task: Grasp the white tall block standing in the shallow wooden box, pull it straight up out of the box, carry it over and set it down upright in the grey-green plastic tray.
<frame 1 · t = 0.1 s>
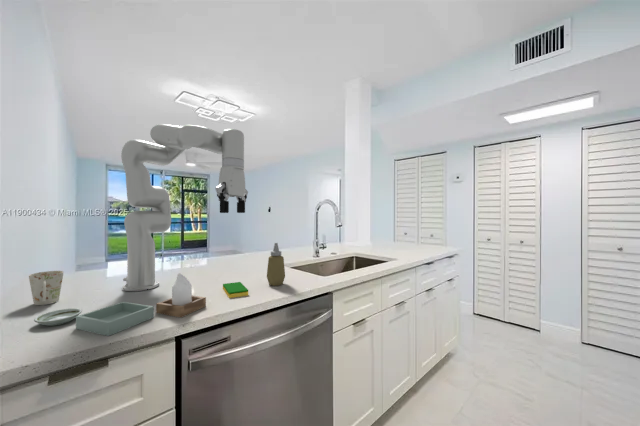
hand: (233, 212, 96), 31 cm above the worktop, tool pointing down, fingers open, 9 cm apart
tray: (116, 322, 76), on the worktop
white tall block: (181, 310, 86), resting in shallow wooden box
dish sponge: (235, 293, 105), on the worktop
shallow wooden box: (181, 309, 86), on the worktop
mug: (46, 304, 91), on the worktop
saucer: (58, 323, 76), on the worktop
squeeze bottle: (275, 284, 116), on the worktop
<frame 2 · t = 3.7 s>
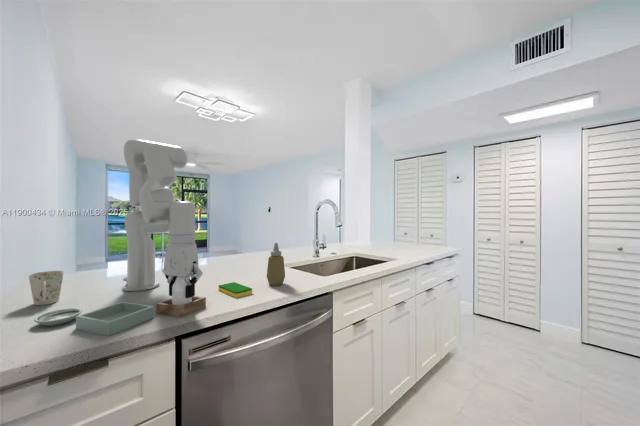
hand: (181, 295, 86), 5 cm above the worktop, tool pointing down, fingers closed on white tall block, 6 cm apart
white tall block: (181, 310, 86), resting in shallow wooden box, touching gripper
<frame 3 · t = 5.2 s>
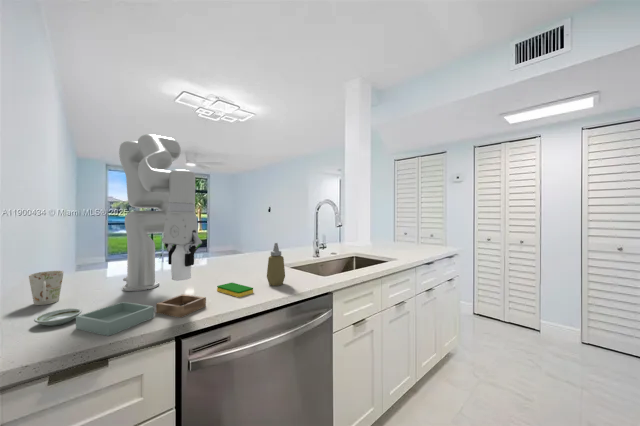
hand: (181, 264, 86), 15 cm above the worktop, tool pointing down, fingers closed on white tall block, 6 cm apart
white tall block: (181, 279, 86), point 10 cm above the worktop, touching gripper
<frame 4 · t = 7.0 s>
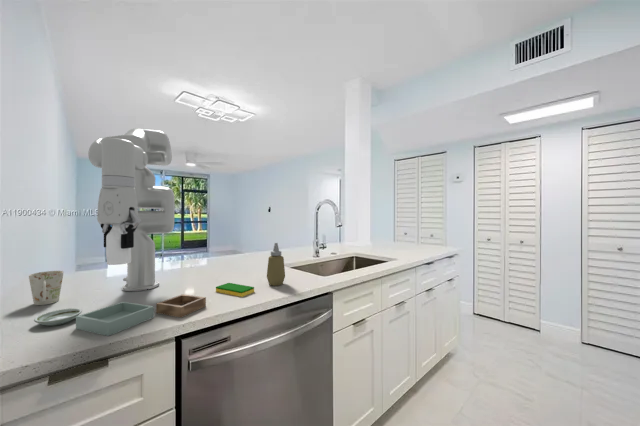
hand: (118, 246, 76), 21 cm above the worktop, tool pointing down, fingers closed on white tall block, 6 cm apart
white tall block: (118, 263, 76), point 17 cm above the worktop, touching gripper
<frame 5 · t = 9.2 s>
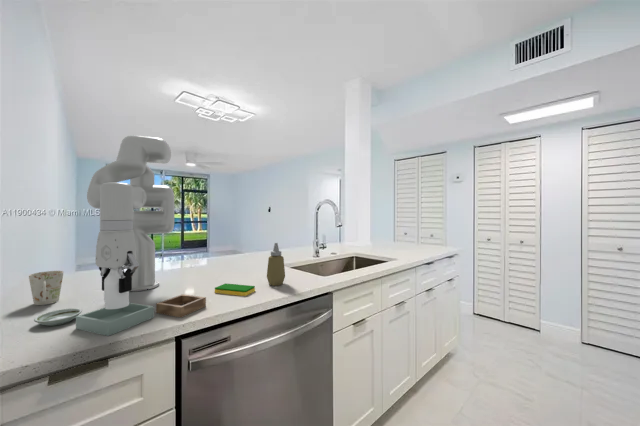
hand: (116, 289, 75), 9 cm above the worktop, tool pointing down, fingers closed on white tall block, 6 cm apart
white tall block: (116, 307, 75), point 4 cm above the worktop, touching gripper
when the fingers open (6 cm above the worktop, at t = 10.7 s): white tall block stays where it is, resting on tray.
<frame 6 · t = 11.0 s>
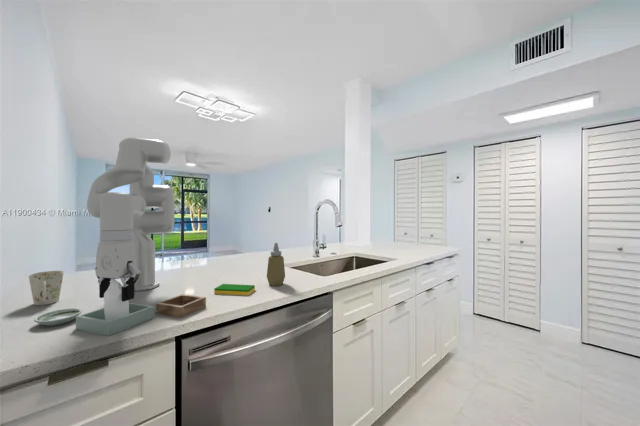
hand: (116, 297, 76), 7 cm above the worktop, tool pointing down, fingers open, 8 cm apart
white tall block: (117, 320, 76), point 1 cm above the worktop, touching tray
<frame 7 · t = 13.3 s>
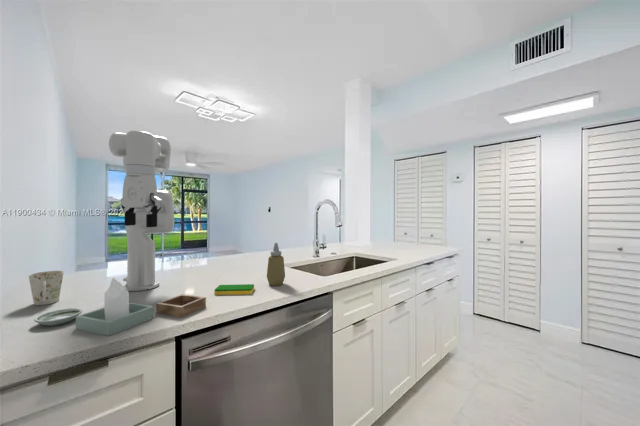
hand: (140, 226, 85), 27 cm above the worktop, tool pointing down, fingers open, 9 cm apart
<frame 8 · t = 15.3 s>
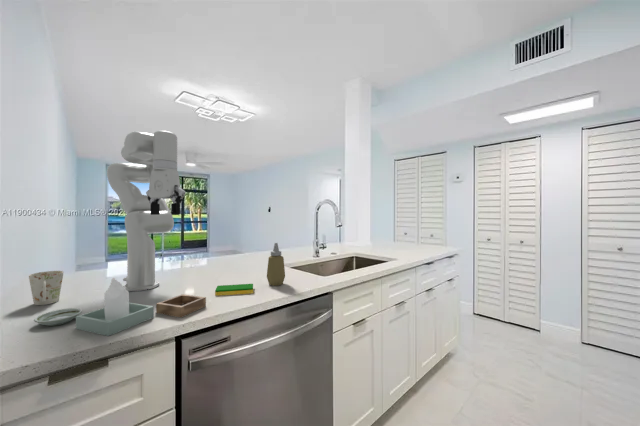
hand: (165, 214, 96), 30 cm above the worktop, tool pointing down, fingers open, 9 cm apart
at the end: white tall block inside the target area on the tray (0.1 cm from its centre), point 0.6 cm above the tray's base; the gripper is holding nothing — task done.
